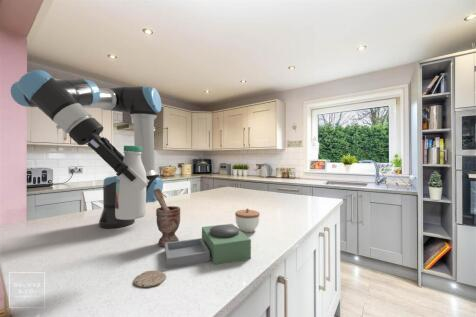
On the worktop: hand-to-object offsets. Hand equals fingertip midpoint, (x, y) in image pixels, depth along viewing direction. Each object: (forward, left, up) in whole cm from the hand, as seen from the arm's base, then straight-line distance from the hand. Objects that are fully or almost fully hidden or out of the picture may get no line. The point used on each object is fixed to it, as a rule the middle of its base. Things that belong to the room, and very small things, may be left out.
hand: (144, 186), depth 64 cm
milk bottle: (0, -4, -9) cm, 9 cm away
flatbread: (+7, +2, -24) cm, 25 cm away
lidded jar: (-21, +41, -24) cm, 52 cm away
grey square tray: (-4, +12, -24) cm, 27 cm away
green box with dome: (-4, +25, -24) cm, 35 cm away
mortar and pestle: (-18, +6, -24) cm, 31 cm away
